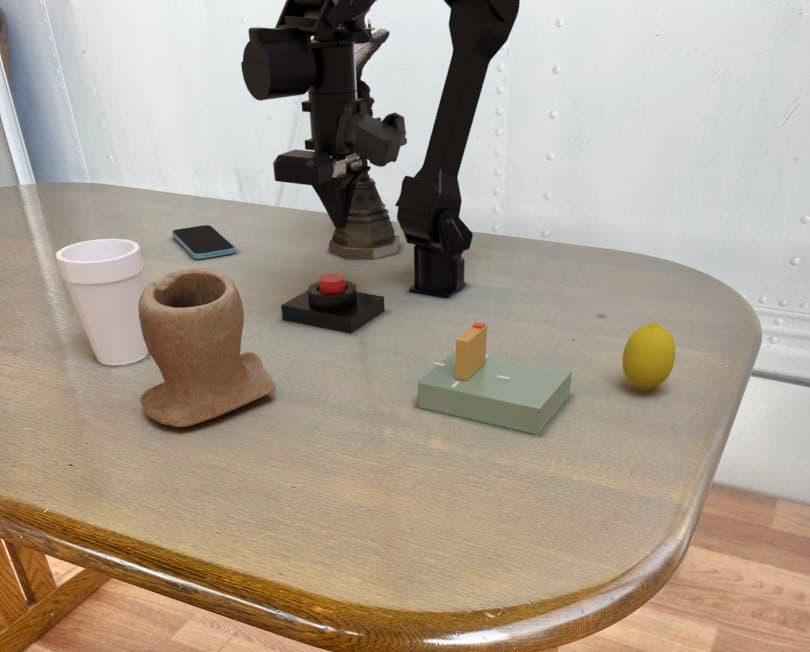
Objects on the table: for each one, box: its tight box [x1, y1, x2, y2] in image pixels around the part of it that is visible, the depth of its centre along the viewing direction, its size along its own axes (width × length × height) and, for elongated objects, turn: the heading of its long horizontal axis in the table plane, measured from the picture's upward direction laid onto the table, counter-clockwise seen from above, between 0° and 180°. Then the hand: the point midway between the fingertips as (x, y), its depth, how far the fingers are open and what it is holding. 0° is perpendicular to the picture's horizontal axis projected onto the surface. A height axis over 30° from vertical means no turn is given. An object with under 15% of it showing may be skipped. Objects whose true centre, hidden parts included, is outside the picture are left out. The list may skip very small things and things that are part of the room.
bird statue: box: [328, 8, 400, 260], centre depth 124 cm, size 17×13×35 cm
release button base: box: [280, 280, 385, 335], centre depth 111 cm, size 11×9×4 cm
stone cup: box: [138, 267, 276, 428], centre depth 86 cm, size 15×12×15 cm
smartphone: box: [171, 224, 236, 260], centre depth 139 cm, size 7×1×15 cm
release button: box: [317, 272, 346, 293], centre depth 109 cm, size 4×4×2 cm
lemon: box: [621, 321, 676, 392], centre depth 90 cm, size 6×6×8 cm
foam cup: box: [55, 238, 149, 366], centre depth 98 cm, size 10×9×13 cm
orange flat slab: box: [455, 321, 488, 381], centre depth 88 cm, size 5×1×5 cm, turn 151°
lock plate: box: [417, 350, 573, 436], centre depth 90 cm, size 15×10×3 cm
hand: (340, 228), depth 104 cm, fingers closed
